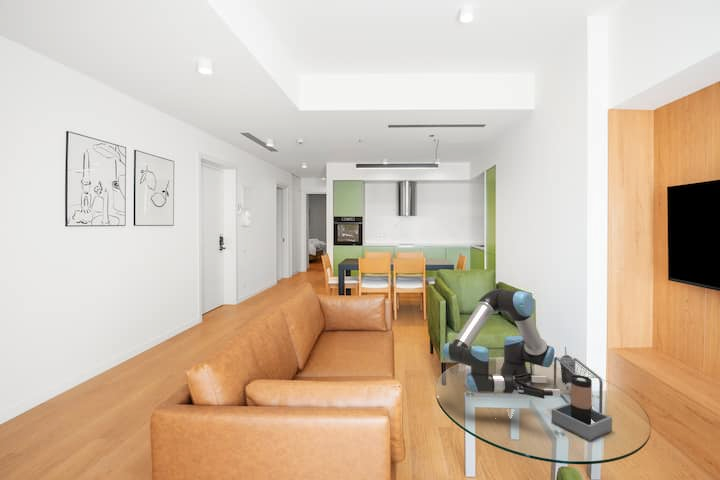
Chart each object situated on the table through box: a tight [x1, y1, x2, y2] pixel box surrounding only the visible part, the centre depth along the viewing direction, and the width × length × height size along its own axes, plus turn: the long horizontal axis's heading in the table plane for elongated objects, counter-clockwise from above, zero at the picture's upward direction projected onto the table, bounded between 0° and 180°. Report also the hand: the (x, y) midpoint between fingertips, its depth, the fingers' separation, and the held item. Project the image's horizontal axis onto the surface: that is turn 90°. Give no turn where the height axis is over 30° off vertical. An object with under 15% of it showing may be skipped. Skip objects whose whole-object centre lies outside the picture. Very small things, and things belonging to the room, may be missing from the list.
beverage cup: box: [559, 346, 574, 385], centre depth 196 cm, size 7×7×20 cm
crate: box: [550, 402, 613, 443], centre depth 150 cm, size 16×16×6 cm
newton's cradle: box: [553, 356, 604, 414], centre depth 174 cm, size 30×10×18 cm, turn 170°
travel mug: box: [570, 374, 593, 425], centre depth 150 cm, size 8×8×20 cm
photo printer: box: [464, 365, 471, 388], centre depth 188 cm, size 10×4×12 cm, turn 38°
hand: (553, 386), depth 153 cm, fingers open, 13 cm apart
